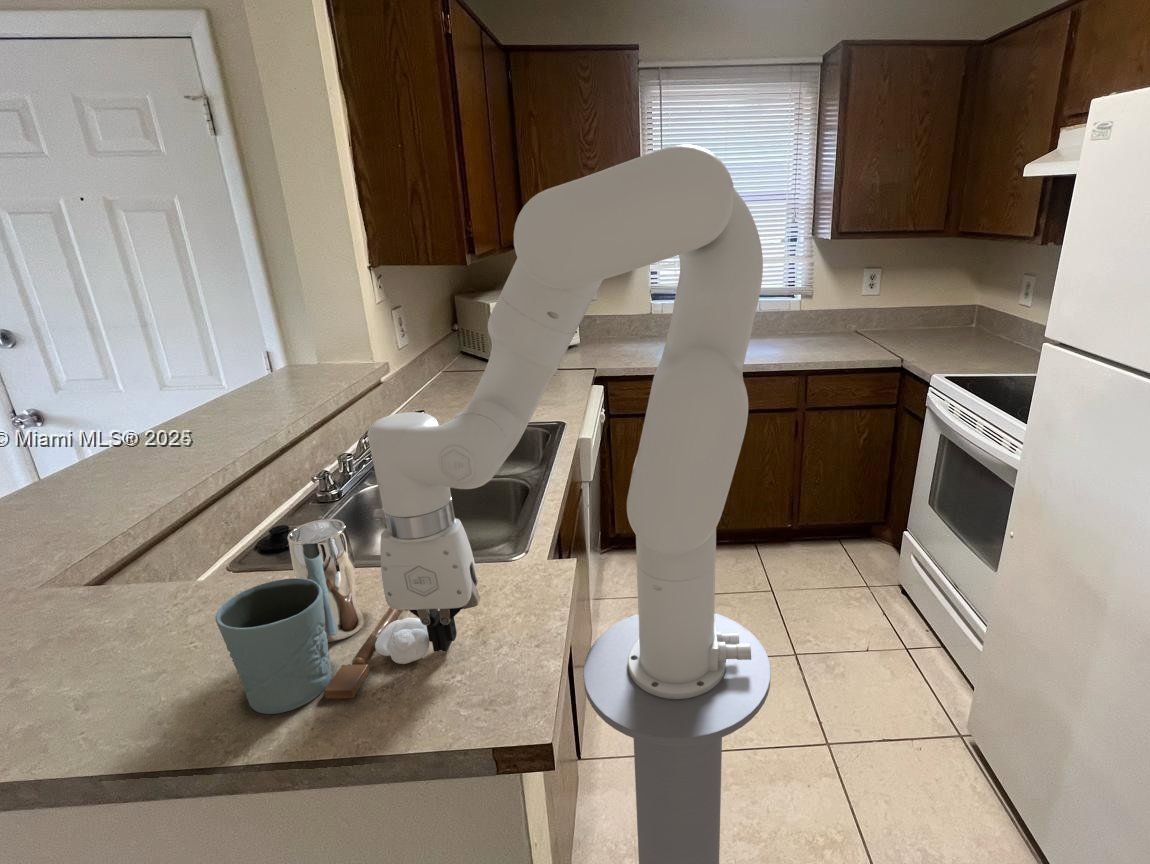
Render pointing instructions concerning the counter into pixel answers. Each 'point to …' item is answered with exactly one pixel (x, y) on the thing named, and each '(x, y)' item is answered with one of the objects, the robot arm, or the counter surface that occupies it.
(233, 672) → the counter surface
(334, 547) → the chrome tumbler
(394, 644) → the dumpling
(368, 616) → the counter surface
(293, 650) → the teal embossed cup
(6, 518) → the counter surface
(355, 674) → the wooden spatula
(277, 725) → the counter surface
